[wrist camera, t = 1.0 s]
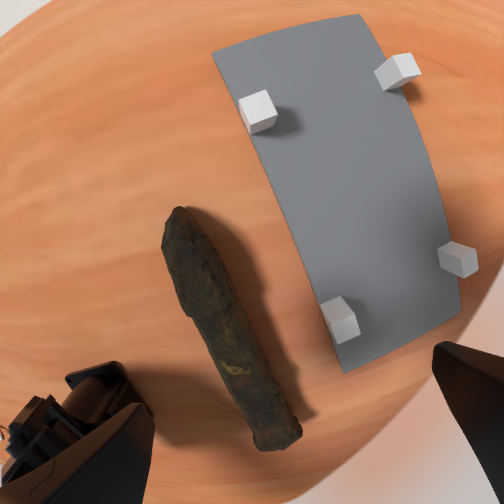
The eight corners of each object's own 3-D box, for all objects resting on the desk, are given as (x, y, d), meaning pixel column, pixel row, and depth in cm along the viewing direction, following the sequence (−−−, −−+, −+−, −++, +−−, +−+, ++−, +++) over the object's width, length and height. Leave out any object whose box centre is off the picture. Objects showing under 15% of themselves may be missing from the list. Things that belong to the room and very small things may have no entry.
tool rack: (340, 366, 21) (355, 397, 17) (213, 59, 17) (204, 31, 13) (454, 307, 21) (482, 325, 17) (355, 20, 16) (373, -7, 12)
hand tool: (299, 414, 23) (307, 452, 18) (255, 425, 23) (255, 464, 18) (222, 192, 19) (214, 193, 14) (165, 213, 19) (141, 220, 15)
